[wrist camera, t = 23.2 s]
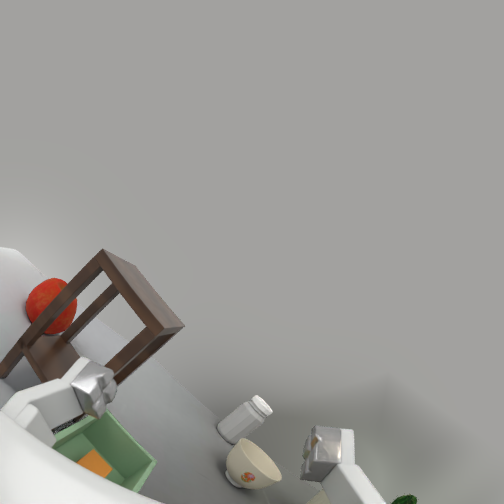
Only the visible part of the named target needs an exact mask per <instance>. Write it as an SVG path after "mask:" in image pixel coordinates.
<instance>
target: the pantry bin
mask: <svg viewBox="0 0 504 504" xmlns="http://www.w3.org/2000/svg"><path fill="white" fill-rule="evenodd" d="M54 436H55V437H56V440H57V441H56V442H55V444H54V445H53V447H52V449H54V450H56V451H57V452H59V453H60V454H62V455H64V456H65V457H67V458H69V459H70V460H72V461H74V462H75V463H76V462H77V461H78V460H80V459H81V458H82V457H84V456H85V455H86V454H88V453H89V452H90V451H91V450H93V449H94V450H95V451H96V452H97V453H98V454H99V455H100V456H101V457H102V458H103V459H104V461H105V462H106V463H107V464H108V465H109V466H110V467H111V468H112V469H113V470H112V471H111V472H110V473H109V474H108V475H107V476H106V477H105V479H107V480H109V481H111V482H113V483H116V484H118V485H120V486H122V487H124V488H127V489H129V490H131V491H133V492H136V493H138V492H139V490H140V489H141V487H142V485H143V484H144V482H145V481H146V479H147V478H148V476H149V474H150V473H151V471H152V470H153V468H154V467H155V465H156V463H157V461H156V460H155V459H154V458H153V457H152V456H151V455H150V454H149V453H148V452H147V451H146V450H145V449H144V448H143V447H142V446H141V445H140V444H139V443H138V442H137V441H136V440H135V439H134V438H133V437H132V436H131V435H130V434H129V433H128V432H127V431H126V429H125V428H124V427H123V426H122V425H121V424H120V423H119V422H118V421H117V420H116V418H115V417H114V416H113V415H112V414H111V413H110V412H109V410H108V409H107V410H106V411H105V413H104V414H103V416H102V417H101V418H100V420H99V419H96V418H94V417H92V416H90V415H89V416H87V417H86V418H84V419H82V420H80V421H79V422H77V423H75V424H73V425H71V426H70V427H68V428H66V429H64V430H62V431H61V432H59V433H57V434H55V435H54Z"/></svg>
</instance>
